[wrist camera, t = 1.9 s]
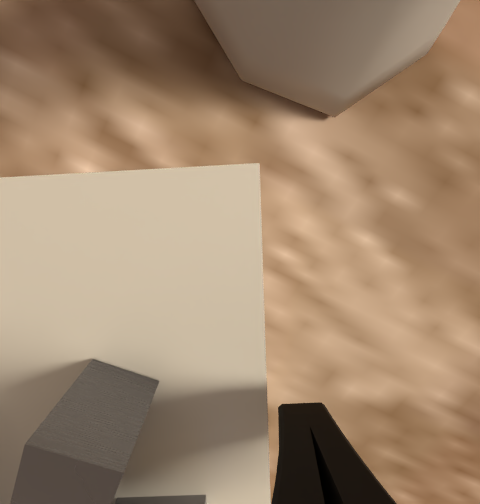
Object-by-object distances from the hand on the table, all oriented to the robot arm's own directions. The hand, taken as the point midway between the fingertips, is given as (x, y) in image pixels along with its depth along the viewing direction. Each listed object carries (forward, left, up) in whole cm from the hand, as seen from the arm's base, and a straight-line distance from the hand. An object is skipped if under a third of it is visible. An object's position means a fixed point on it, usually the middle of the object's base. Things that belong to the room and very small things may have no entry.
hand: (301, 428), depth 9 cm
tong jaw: (-5, +9, -1) cm, 10 cm away
